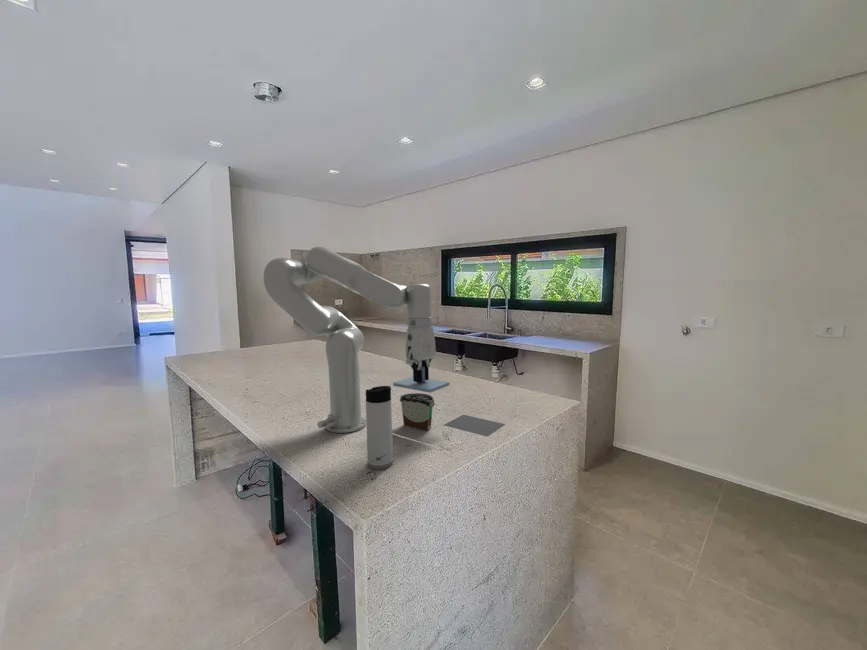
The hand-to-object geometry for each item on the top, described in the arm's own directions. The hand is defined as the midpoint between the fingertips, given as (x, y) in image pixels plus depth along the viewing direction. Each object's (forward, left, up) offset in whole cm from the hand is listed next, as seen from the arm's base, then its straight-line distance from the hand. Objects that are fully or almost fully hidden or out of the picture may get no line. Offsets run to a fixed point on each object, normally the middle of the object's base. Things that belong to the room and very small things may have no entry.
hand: (421, 380), depth 114 cm
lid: (0, 0, -2) cm, 2 cm away
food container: (0, 0, -15) cm, 15 cm away
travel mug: (-26, -8, -15) cm, 31 cm away
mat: (+10, -14, -15) cm, 23 cm away
